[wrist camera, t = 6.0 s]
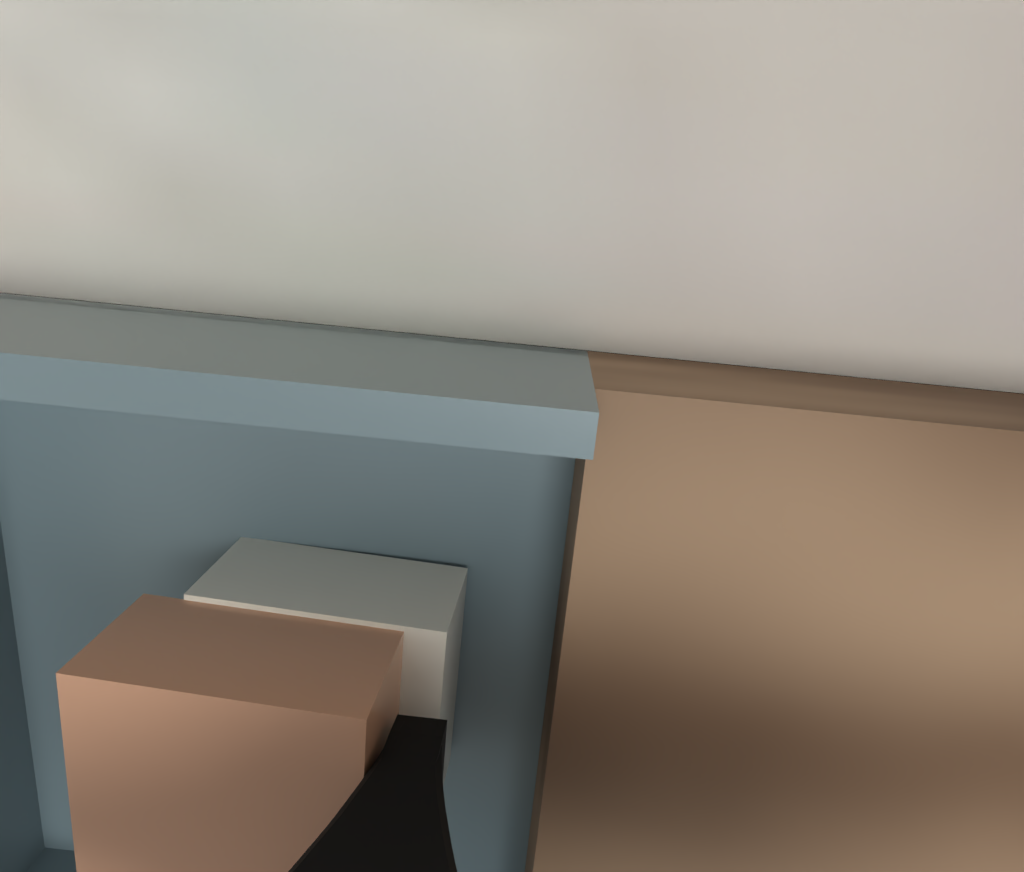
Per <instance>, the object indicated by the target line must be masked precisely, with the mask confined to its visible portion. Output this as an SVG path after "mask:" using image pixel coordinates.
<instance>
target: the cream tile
mask: <svg viewBox="0 0 1024 872" xmlns="http://www.w3.org/2000/svg"><path fill="white" fill-rule="evenodd" d="M467 573H468V568H463V567H456V566H449V565H442V564H435V563H427V562H420V561H413V560H406V559H399V558H392V557H384V556H377V555H370V554H363V553H356V552H349V551H342V550H334V549H327V548H320V547H313V546H306V545H299V544H291V543H284V542H277V541H270V540H263V539H254V538H246V537H241V538H240V539H239V540H238V541H237V542H236V543H235V544H234V545H233V546H232V547H231V548H230V549H229V550H228V551H227V552H226V553H225V554H224V555H223V556H222V557H221V558H220V559H219V560H218V561H217V562H216V563H215V564H214V565H213V566H212V567H211V568H209V569H208V570H207V571H206V572H205V573H204V574H203V575H202V576H201V577H200V578H199V579H198V580H197V581H196V582H195V583H194V584H193V585H192V586H191V587H190V588H189V589H188V590H187V591H186V592H185V593H184V600H188V601H195V602H202V603H209V604H216V605H223V606H230V607H237V608H244V609H251V610H258V611H265V612H272V613H279V614H286V615H293V616H300V617H307V618H314V619H321V620H328V621H334V622H341V623H348V624H355V625H362V626H369V627H376V628H383V629H390V630H397V631H404V640H403V656H402V672H401V688H400V704H399V715H408V716H417V717H426V718H435V719H444V720H447V731H446V744H445V757H444V771H443V785H444V781H445V777H446V773H447V769H448V765H449V761H450V755H451V745H452V734H453V723H454V713H455V702H456V691H457V680H458V670H459V659H460V648H461V638H462V627H463V616H464V605H465V595H466V584H467Z"/></svg>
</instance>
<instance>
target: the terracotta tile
mask: <svg viewBox="0 0 1024 872" xmlns="http://www.w3.org/2000/svg"><path fill="white" fill-rule="evenodd" d="M403 640H404V631H397V630H390V629H383V628H376V627H369V626H362V625H355V624H348V623H341V622H334V621H328V620H321V619H314V618H307V617H300V616H293V615H286V614H279V613H272V612H265V611H258V610H251V609H244V608H237V607H230V606H223V605H216V604H209V603H202V602H195V601H188V600H184V599H179V598H172V597H165V596H158V595H151V594H143V595H142V596H140V597H139V598H138V599H137V600H136V601H135V602H134V603H133V604H132V605H130V606H129V607H128V608H127V609H126V610H125V611H124V612H123V613H122V614H120V615H119V616H118V617H117V618H116V619H115V620H114V621H113V622H112V623H111V624H109V625H108V626H107V627H106V628H105V629H104V630H103V631H102V632H101V633H99V634H98V635H97V636H96V637H95V638H94V639H93V640H92V641H91V642H90V643H88V644H87V645H86V646H85V647H84V648H83V649H82V650H81V651H80V652H78V653H77V654H76V655H75V656H74V657H73V658H72V659H71V660H70V661H68V662H67V663H66V664H65V665H64V666H63V667H62V668H61V669H60V670H59V671H57V672H56V680H57V690H58V700H59V709H60V719H61V728H62V738H63V747H64V757H65V766H66V776H67V786H68V795H69V805H70V814H71V824H72V833H73V843H74V852H75V862H76V872H288V871H289V870H290V869H291V868H292V867H293V866H294V864H295V863H296V862H297V861H298V860H299V858H300V857H301V856H302V855H303V854H304V853H305V851H306V850H307V849H308V848H309V847H310V846H311V844H312V843H313V842H314V841H315V840H316V838H317V837H318V836H319V835H320V834H321V833H322V831H323V830H324V829H325V828H326V827H327V825H328V824H329V823H330V822H331V820H332V819H333V818H334V817H335V815H336V814H337V813H338V811H339V810H340V809H341V807H342V806H343V805H344V803H345V802H346V801H347V799H348V798H349V797H350V795H351V794H352V793H353V791H354V790H355V789H356V787H357V786H358V785H359V783H360V782H361V781H362V779H363V778H364V776H365V775H366V773H367V772H368V771H369V769H370V768H371V766H372V765H373V763H374V762H375V760H376V759H377V757H378V756H379V754H380V753H381V751H382V750H383V748H384V746H385V743H386V740H387V738H388V735H389V733H390V730H391V728H392V726H393V723H394V721H395V719H396V717H397V714H399V704H400V688H401V672H402V656H403Z"/></svg>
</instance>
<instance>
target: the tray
mask: <svg viewBox="0 0 1024 872" xmlns="http://www.w3.org/2000/svg"><path fill="white" fill-rule="evenodd" d="M598 419H599V409H598V404H597V399H596V393H595V388H594V383H593V378H592V373H591V368H590V363H589V358H588V353H587V351H583V350H573V349H563V348H553V347H543V346H533V345H523V344H512V343H502V342H492V341H482V340H472V339H462V338H452V337H442V336H431V335H421V334H411V333H401V332H391V331H381V330H371V329H361V328H350V327H340V326H330V325H320V324H310V323H300V322H290V321H280V320H269V319H259V318H249V317H239V316H229V315H219V314H209V313H199V312H188V311H178V310H168V309H158V308H148V307H138V306H128V305H118V304H107V303H97V302H87V301H77V300H67V299H57V298H47V297H37V296H26V295H16V294H6V293H0V872H76V862H75V852H74V843H73V833H72V824H71V814H70V805H69V795H68V786H67V776H66V766H65V757H64V747H63V738H62V728H61V719H60V709H59V700H58V690H57V680H56V672H57V671H59V670H60V669H61V668H62V667H63V666H64V665H65V664H66V663H67V662H68V661H70V660H71V659H72V658H73V657H74V656H75V655H76V654H77V653H78V652H80V651H81V650H82V649H83V648H84V647H85V646H86V645H87V644H88V643H90V642H91V641H92V640H93V639H94V638H95V637H96V636H97V635H98V634H99V633H101V632H102V631H103V630H104V629H105V628H106V627H107V626H108V625H109V624H111V623H112V622H113V621H114V620H115V619H116V618H117V617H118V616H119V615H120V614H122V613H123V612H124V611H125V610H126V609H127V608H128V607H129V606H130V605H132V604H133V603H134V602H135V601H136V600H137V599H138V598H139V597H140V596H142V595H143V594H151V595H158V596H165V597H172V598H179V599H184V593H185V592H186V591H187V590H188V589H189V588H190V587H191V586H192V585H193V584H194V583H195V582H196V581H197V580H198V579H199V578H200V577H201V576H202V575H203V574H204V573H205V572H206V571H207V570H208V569H209V568H211V567H212V566H213V565H214V564H215V563H216V562H217V561H218V560H219V559H220V558H221V557H222V556H223V555H224V554H225V553H226V552H227V551H228V550H229V549H230V548H231V547H232V546H233V545H234V544H235V543H236V542H237V541H238V540H239V539H240V538H241V537H246V538H254V539H263V540H270V541H277V542H284V543H291V544H299V545H306V546H313V547H320V548H327V549H334V550H342V551H349V552H356V553H363V554H370V555H377V556H384V557H392V558H399V559H406V560H413V561H420V562H427V563H435V564H442V565H449V566H456V567H463V568H468V573H467V584H466V595H465V605H464V616H463V627H462V638H461V648H460V659H459V670H458V680H457V691H456V702H455V713H454V723H453V734H452V745H451V755H450V761H449V765H448V769H447V773H446V777H445V781H444V785H443V790H444V799H445V807H446V814H447V820H448V826H449V832H450V838H451V844H452V849H453V854H454V859H455V864H456V868H457V872H525V865H526V856H527V848H528V840H529V832H530V824H531V816H532V808H533V800H534V792H535V784H536V775H537V767H538V759H539V751H540V743H541V735H542V727H543V719H544V711H545V702H546V694H547V686H548V678H549V670H550V662H551V654H552V646H553V638H554V629H555V621H556V613H557V605H558V597H559V589H560V581H561V573H562V565H563V557H564V548H565V540H566V532H567V524H568V516H569V508H570V500H571V492H572V484H573V475H574V467H575V459H576V458H578V459H588V460H593V457H594V449H595V441H596V434H597V426H598Z"/></svg>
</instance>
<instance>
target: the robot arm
mask: <svg viewBox="0 0 1024 872" xmlns="http://www.w3.org/2000/svg"><path fill="white" fill-rule="evenodd" d="M446 731H447V720H444V719H435V718H426V717H417V716H408V715H399V714H397V717H396V719H395V721H394V723H393V726H392V728H391V730H390V733H389V735H388V738H387V740H386V743H385V746H384V748H383V750H382V751H381V753H380V754H379V756H378V757H377V759H376V760H375V762H374V763H373V765H372V766H371V768H370V769H369V771H368V772H367V773H366V775H365V776H364V778H363V779H362V781H361V782H360V783H359V785H358V786H357V787H356V789H355V790H354V791H353V793H352V794H351V795H350V797H349V798H348V799H347V801H346V802H345V803H344V805H343V806H342V807H341V809H340V810H339V811H338V813H337V814H336V815H335V817H334V818H333V819H332V820H331V822H330V823H329V824H328V825H327V827H326V828H325V829H324V830H323V831H322V833H321V834H320V835H319V836H318V837H317V838H316V840H315V841H314V842H313V843H312V844H311V846H310V847H309V848H308V849H307V850H306V851H305V853H304V854H303V855H302V856H301V857H300V858H299V860H298V861H297V862H296V863H295V864H294V866H293V867H292V868H291V869H290V870H289V871H288V872H457V868H456V864H455V859H454V854H453V849H452V844H451V838H450V832H449V826H448V820H447V814H446V807H445V799H444V790H443V771H444V757H445V744H446Z"/></svg>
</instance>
